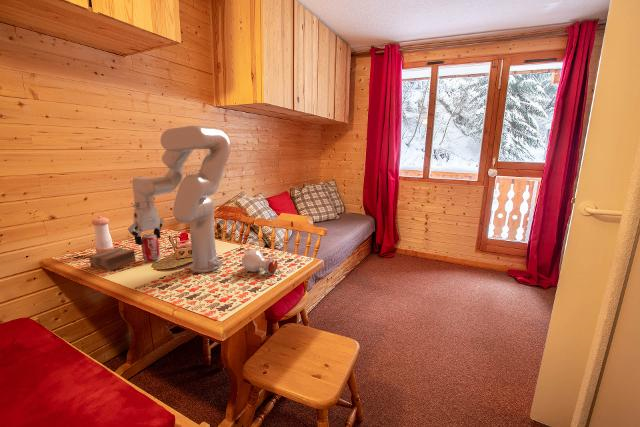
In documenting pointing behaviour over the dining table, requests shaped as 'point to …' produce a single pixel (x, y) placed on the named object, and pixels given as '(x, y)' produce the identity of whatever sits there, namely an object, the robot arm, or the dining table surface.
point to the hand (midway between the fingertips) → (148, 241)
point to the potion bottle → (258, 262)
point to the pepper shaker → (102, 234)
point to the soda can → (150, 248)
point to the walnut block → (112, 259)
